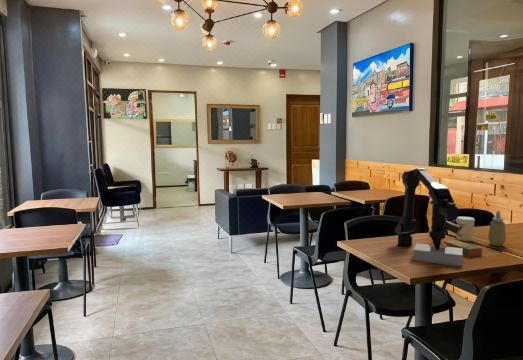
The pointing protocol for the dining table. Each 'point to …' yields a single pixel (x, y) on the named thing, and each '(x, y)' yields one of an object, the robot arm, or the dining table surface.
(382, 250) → the dining table surface
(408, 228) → the robot arm
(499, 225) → the squeeze bottle
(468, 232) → the coffee cup
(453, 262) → the box
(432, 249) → the flap
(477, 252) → the carton
